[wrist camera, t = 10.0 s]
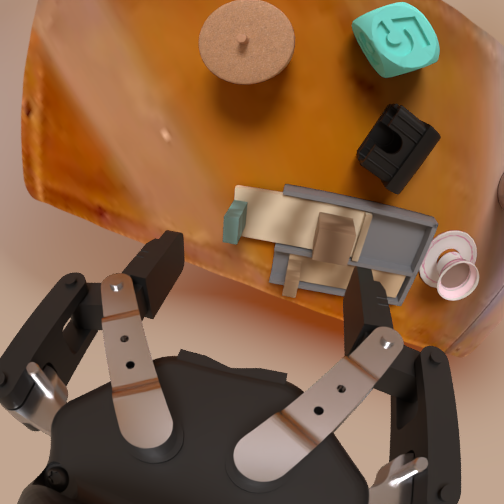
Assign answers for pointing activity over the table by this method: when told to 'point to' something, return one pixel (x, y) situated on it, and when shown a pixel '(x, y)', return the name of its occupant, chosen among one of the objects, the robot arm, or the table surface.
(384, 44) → the decorative dice
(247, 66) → the lidded jar
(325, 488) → the robot arm
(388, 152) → the end cap
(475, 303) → the table surface
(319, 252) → the walnut cube
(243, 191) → the strip
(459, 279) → the teacup
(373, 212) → the tray
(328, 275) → the strip
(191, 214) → the table surface
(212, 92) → the table surface
